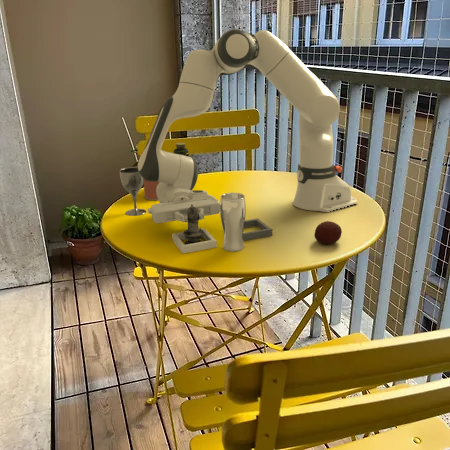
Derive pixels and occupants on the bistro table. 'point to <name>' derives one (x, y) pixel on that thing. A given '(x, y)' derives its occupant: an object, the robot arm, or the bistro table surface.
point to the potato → (328, 232)
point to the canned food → (150, 190)
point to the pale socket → (194, 246)
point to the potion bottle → (181, 149)
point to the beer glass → (233, 220)
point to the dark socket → (263, 232)
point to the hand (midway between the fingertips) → (193, 218)
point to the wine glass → (132, 187)
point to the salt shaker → (193, 227)
